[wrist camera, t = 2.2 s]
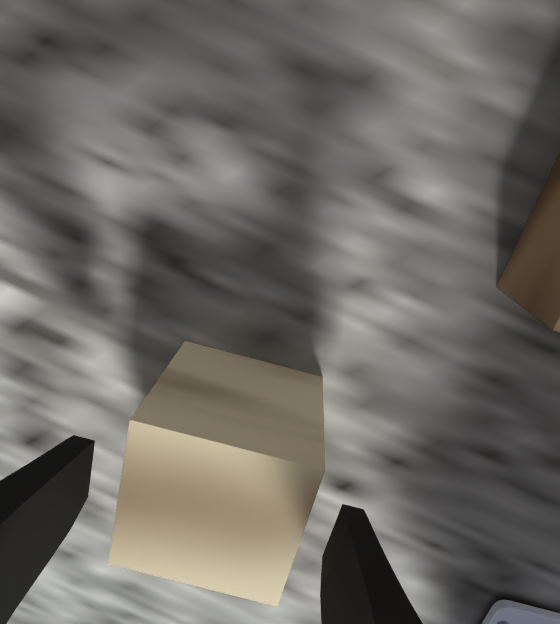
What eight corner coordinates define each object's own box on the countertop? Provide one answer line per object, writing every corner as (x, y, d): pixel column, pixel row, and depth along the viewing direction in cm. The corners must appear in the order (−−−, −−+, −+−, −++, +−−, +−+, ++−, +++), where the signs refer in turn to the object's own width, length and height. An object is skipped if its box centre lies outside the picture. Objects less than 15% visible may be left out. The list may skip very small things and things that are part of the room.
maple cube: (287, 484, 18) (277, 606, 13) (163, 453, 17) (108, 563, 13) (322, 375, 16) (325, 470, 11) (185, 339, 16) (130, 419, 11)
